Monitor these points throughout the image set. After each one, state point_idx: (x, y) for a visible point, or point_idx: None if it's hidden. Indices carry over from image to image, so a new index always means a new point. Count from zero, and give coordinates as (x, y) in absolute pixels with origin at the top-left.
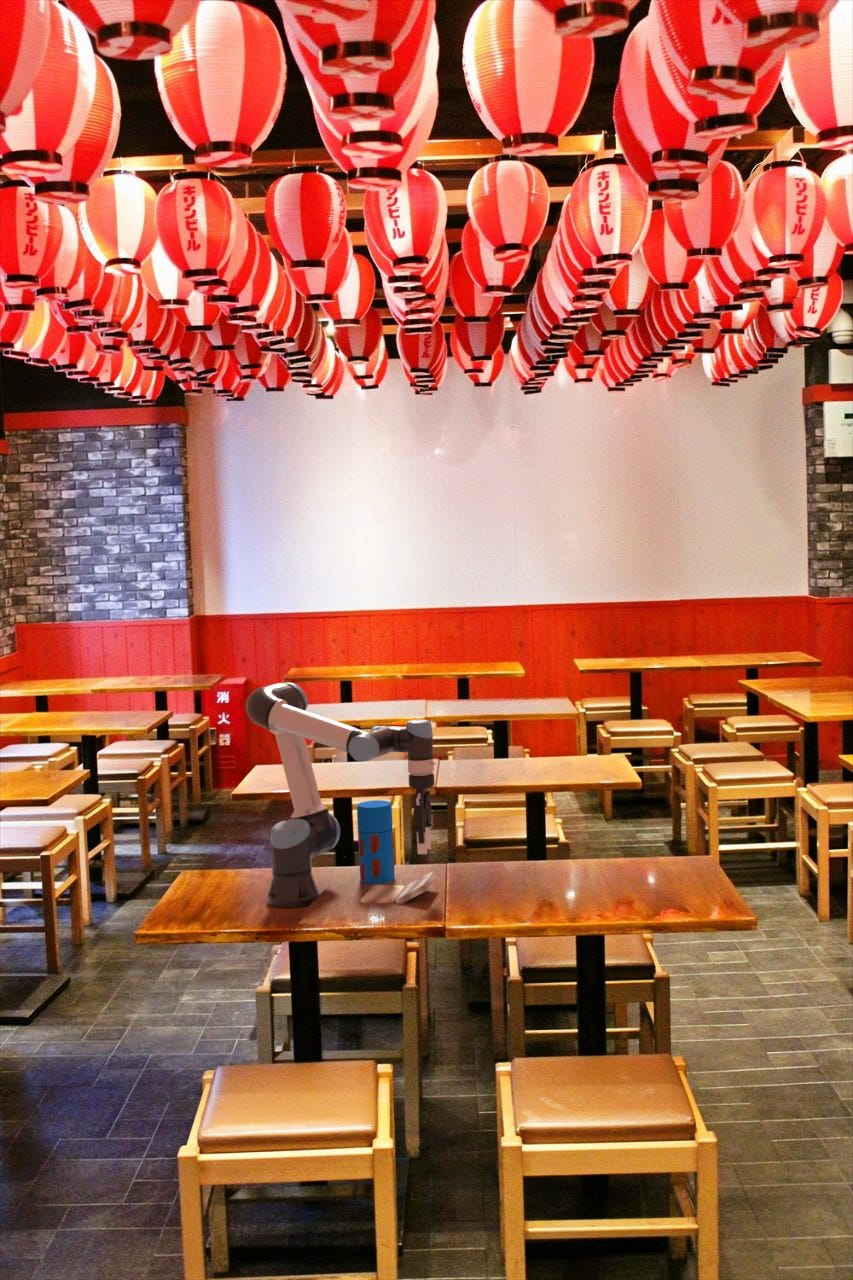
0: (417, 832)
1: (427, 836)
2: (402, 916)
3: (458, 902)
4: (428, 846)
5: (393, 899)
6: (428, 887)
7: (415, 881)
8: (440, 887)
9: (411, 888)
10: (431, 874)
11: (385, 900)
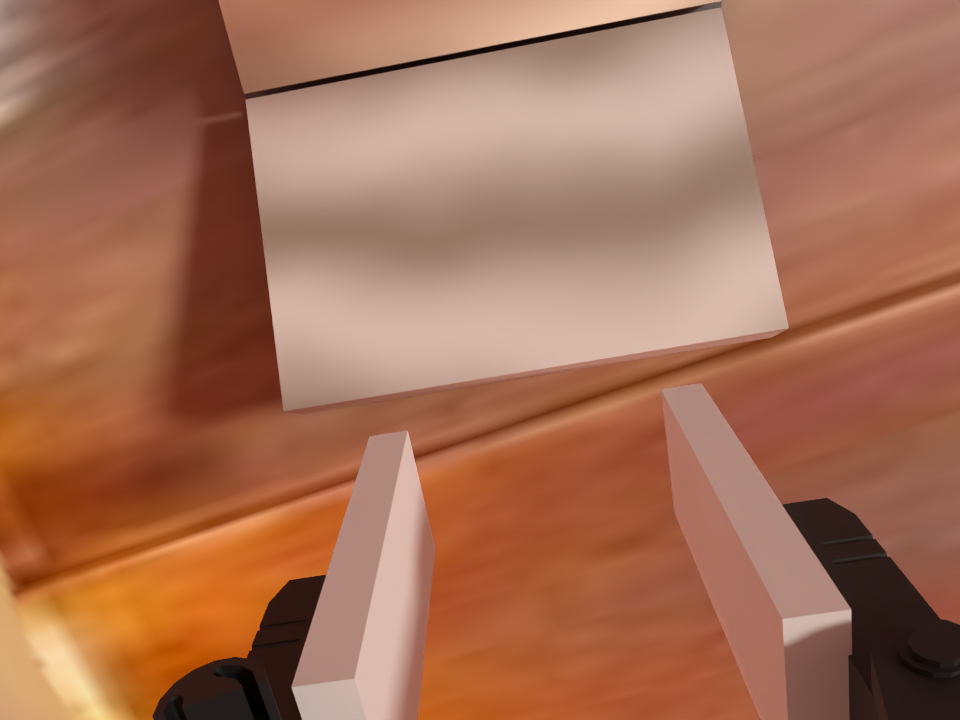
0: (294, 694)
1: (728, 603)
2: (83, 251)
3: (522, 509)
4: (683, 507)
5: (265, 77)
6: (380, 401)
7: (687, 139)
8: (887, 257)
9: (416, 210)
10: (655, 350)
11: (222, 6)
